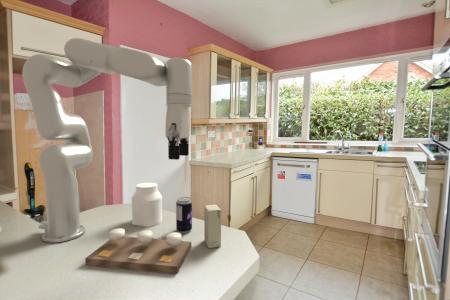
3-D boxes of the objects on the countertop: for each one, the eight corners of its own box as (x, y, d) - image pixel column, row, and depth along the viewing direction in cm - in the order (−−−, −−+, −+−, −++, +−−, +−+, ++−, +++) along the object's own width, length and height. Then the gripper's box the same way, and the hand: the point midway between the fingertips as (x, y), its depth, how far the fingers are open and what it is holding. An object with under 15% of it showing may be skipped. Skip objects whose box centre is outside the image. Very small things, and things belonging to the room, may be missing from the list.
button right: (164, 244, 71) (164, 238, 71) (169, 238, 76) (169, 231, 75) (178, 246, 71) (178, 239, 70) (183, 239, 75) (183, 232, 75)
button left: (106, 240, 73) (106, 233, 73) (114, 234, 78) (114, 227, 78) (120, 241, 73) (119, 234, 73) (127, 235, 77) (127, 228, 77)
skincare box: (221, 247, 79) (221, 210, 77) (208, 248, 77) (208, 211, 76) (216, 238, 85) (216, 203, 84) (203, 239, 84) (204, 204, 82)
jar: (127, 224, 96) (126, 186, 94) (142, 215, 105) (142, 181, 103) (152, 228, 92) (152, 189, 91) (166, 219, 101) (166, 183, 100)
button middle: (134, 242, 72) (134, 236, 72) (141, 236, 77) (141, 229, 76) (148, 243, 72) (148, 237, 72) (155, 237, 76) (155, 230, 76)
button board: (85, 265, 67) (85, 257, 67) (114, 241, 81) (114, 235, 81) (177, 273, 64) (177, 265, 64) (191, 247, 78) (191, 241, 78)
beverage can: (188, 234, 87) (188, 201, 86) (173, 233, 88) (173, 200, 87) (194, 228, 93) (194, 197, 92) (179, 226, 94) (179, 196, 93)
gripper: (176, 104, 84) (176, 153, 85) (155, 98, 67) (156, 160, 68) (197, 104, 83) (197, 154, 85) (182, 98, 66) (182, 161, 67)
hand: (179, 157), depth 76 cm, fingers open, 9 cm apart
